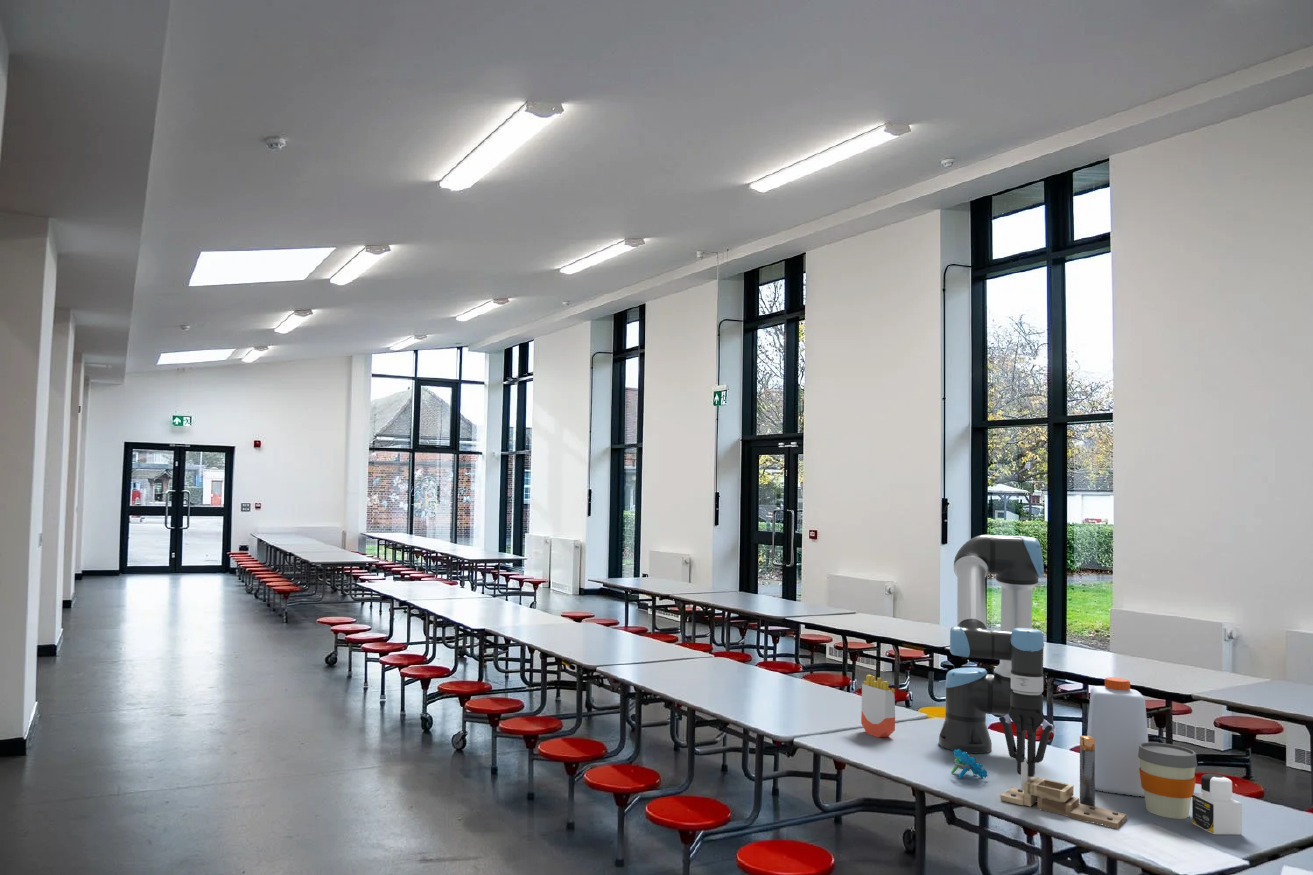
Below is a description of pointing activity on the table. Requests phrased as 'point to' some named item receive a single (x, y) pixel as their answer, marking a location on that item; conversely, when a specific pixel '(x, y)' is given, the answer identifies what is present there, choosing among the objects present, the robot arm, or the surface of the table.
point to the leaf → (1038, 792)
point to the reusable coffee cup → (1167, 778)
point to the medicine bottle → (1216, 807)
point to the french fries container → (877, 707)
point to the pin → (1087, 770)
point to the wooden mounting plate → (1082, 811)
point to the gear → (967, 764)
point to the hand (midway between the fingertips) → (1025, 788)
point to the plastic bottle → (1117, 736)
